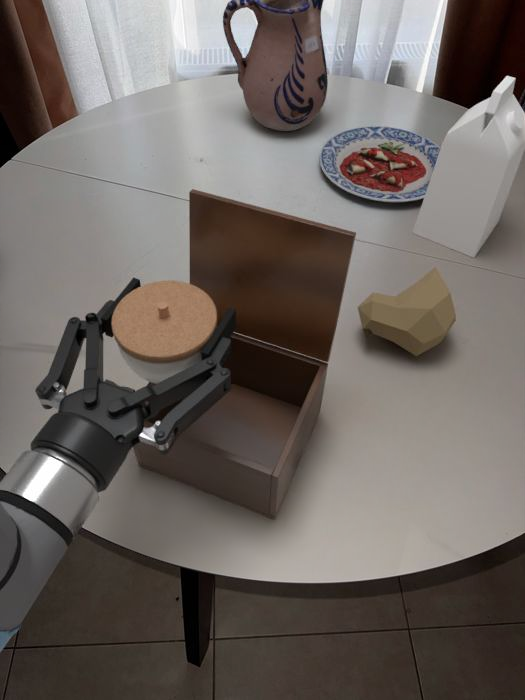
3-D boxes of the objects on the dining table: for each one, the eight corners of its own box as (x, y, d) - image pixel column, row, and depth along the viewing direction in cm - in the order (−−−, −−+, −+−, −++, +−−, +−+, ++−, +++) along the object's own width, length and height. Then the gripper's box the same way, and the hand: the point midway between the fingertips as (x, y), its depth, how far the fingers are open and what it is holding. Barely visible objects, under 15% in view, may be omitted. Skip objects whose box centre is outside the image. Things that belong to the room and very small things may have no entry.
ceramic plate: (411, 228, 104) (415, 215, 102) (293, 177, 113) (294, 164, 111) (470, 163, 117) (474, 150, 115) (359, 122, 127) (361, 109, 124)
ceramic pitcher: (334, 136, 123) (350, 8, 104) (238, 150, 119) (235, 19, 100) (309, 97, 134) (318, -27, 114) (219, 108, 130) (214, -18, 111)
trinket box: (111, 396, 62) (92, 338, 55) (139, 322, 69) (126, 263, 61) (209, 409, 61) (204, 352, 54) (228, 333, 68) (225, 274, 61)
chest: (275, 520, 69) (278, 478, 61) (138, 465, 73) (123, 419, 65) (320, 412, 79) (328, 363, 70) (197, 369, 83) (191, 318, 75)
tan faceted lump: (458, 324, 90) (414, 264, 90) (491, 310, 79) (440, 243, 80) (382, 379, 88) (338, 318, 89) (405, 374, 77) (354, 304, 78)
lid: (354, 235, 58) (356, 232, 59) (189, 191, 63) (192, 188, 63) (327, 362, 70) (329, 358, 70) (189, 318, 74) (192, 314, 75)
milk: (439, 199, 109) (481, 58, 89) (498, 221, 105) (556, 79, 85) (412, 232, 103) (451, 89, 83) (474, 258, 99) (530, 113, 79)
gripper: (-28, 447, 55) (99, 296, 68) (189, 540, 50) (283, 357, 63) (-61, 403, 49) (85, 247, 62) (181, 502, 44) (286, 309, 57)
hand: (184, 302), depth 63 cm, fingers closed on trinket box, 11 cm apart
